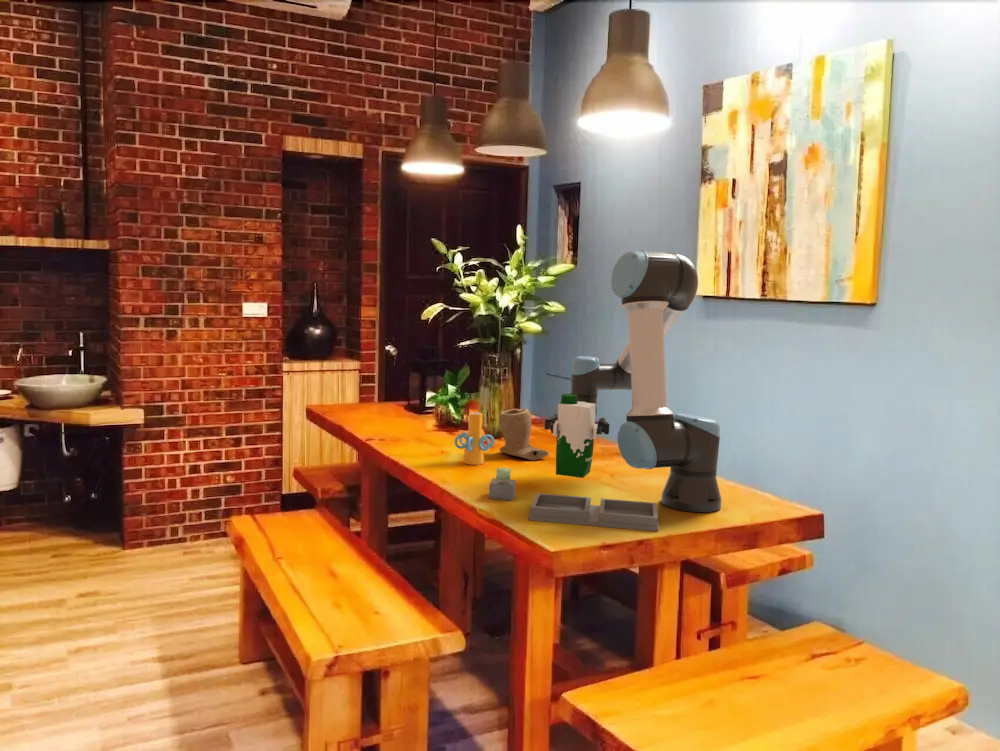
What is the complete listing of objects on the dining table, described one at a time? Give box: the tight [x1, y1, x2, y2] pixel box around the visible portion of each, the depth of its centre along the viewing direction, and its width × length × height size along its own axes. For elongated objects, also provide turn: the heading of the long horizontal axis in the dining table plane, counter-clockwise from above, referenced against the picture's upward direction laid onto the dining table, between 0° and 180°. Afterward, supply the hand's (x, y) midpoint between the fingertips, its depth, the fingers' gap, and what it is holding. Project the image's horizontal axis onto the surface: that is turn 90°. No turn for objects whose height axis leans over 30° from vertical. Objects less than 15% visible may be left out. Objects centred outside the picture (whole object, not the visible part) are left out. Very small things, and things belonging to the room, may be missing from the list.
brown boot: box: [498, 408, 550, 461], centre depth 275 cm, size 15×12×15 cm
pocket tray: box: [528, 492, 659, 532], centre depth 211 cm, size 30×14×3 cm, turn 81°
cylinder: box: [454, 411, 495, 466], centre depth 263 cm, size 12×10×15 cm
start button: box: [495, 467, 512, 480], centre depth 225 cm, size 4×4×2 cm
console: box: [488, 477, 517, 502], centre depth 226 cm, size 6×6×4 cm
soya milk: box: [555, 393, 596, 479], centre depth 222 cm, size 9×9×20 cm
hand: (574, 432), depth 218 cm, fingers closed on soya milk, 9 cm apart
